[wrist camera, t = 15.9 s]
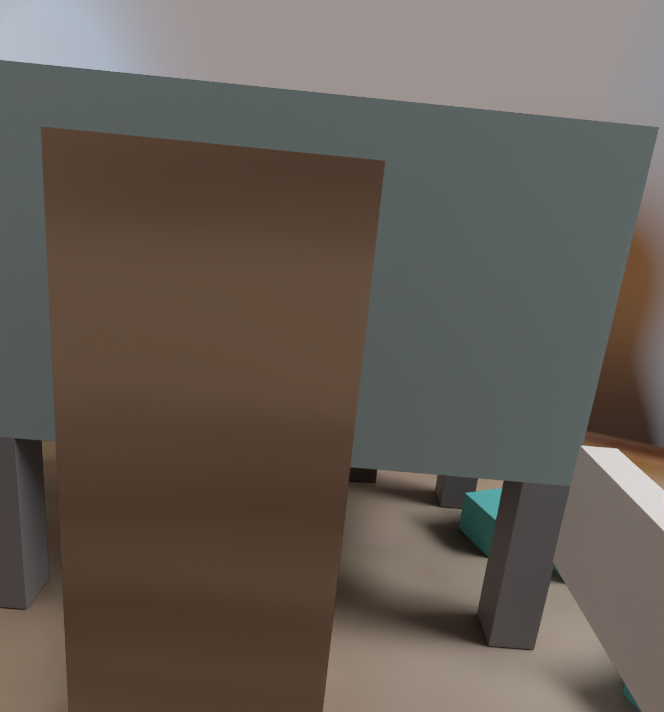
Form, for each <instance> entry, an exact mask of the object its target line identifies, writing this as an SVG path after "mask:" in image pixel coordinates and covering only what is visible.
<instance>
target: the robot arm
mask: <svg viewBox="0 0 664 712" xmlns="http://www.w3.org/2000/svg"><path fill="white" fill-rule="evenodd" d="M553 563H554V565H555V567H556V568H557V570H558V572H559V574H560V575H561V577H562V579H563V580H564V582H565V584H566V585H567V587H568V589H569V590H570V592H571V594H572V595H573V597H574V599H575V600H576V602H577V604H578V605H579V607H580V609H581V611H582V612H583V614H584V616H585V617H586V619H587V621H588V622H589V624H590V626H591V627H592V629H593V631H594V632H595V634H596V636H597V637H598V639H599V641H600V642H601V644H602V646H603V647H604V649H605V651H606V653H607V654H608V656H609V658H610V659H611V661H612V663H613V664H614V666H615V668H616V669H617V671H618V673H619V674H620V676H621V678H622V679H623V681H624V683H625V684H626V686H627V688H628V690H629V691H630V693H631V695H632V696H633V698H634V700H635V701H636V703H637V705H638V706H639V708H640V710H641V711H642V712H664V490H663V489H662V488H660V487H659V486H658V485H657V484H656V483H655V482H654V481H653V480H652V479H650V478H649V477H648V476H647V475H646V474H645V473H644V472H643V471H642V470H640V469H639V468H638V467H637V466H636V465H635V464H634V463H633V462H632V461H630V460H629V459H628V458H627V457H626V456H625V455H624V454H623V453H621V452H620V451H619V450H618V449H614V448H602V447H591V446H580V448H579V453H578V457H577V461H576V465H575V469H574V474H573V478H572V482H571V486H570V490H569V495H568V499H567V503H566V507H565V511H564V516H563V520H562V524H561V528H560V533H559V537H558V541H557V545H556V549H555V554H554V558H553Z"/></svg>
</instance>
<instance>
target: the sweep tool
mask: <svg viewBox="0 0 664 712" xmlns="http://www.w3.org/2000/svg"><path fill="white" fill-rule="evenodd" d="M41 144H42V165H43V186H44V207H45V228H46V249H47V270H48V291H49V312H50V333H51V354H52V374H53V395H54V416H55V437H56V458H57V479H58V500H59V521H60V542H61V563H62V583H63V604H64V625H65V646H66V667H67V688H68V709H69V712H323V703H324V694H325V685H326V677H327V668H328V659H329V650H330V642H331V633H332V624H333V615H334V607H335V598H336V589H337V580H338V572H339V563H340V554H341V545H342V536H343V528H344V519H345V510H346V501H347V493H348V484H349V481H361V482H372V483H375V482H376V475H377V469H366V468H354V467H350V466H351V458H352V449H353V440H354V431H355V423H356V414H357V405H358V396H359V387H360V379H361V370H362V361H363V352H364V344H365V335H366V326H367V317H368V309H369V300H370V291H371V282H372V274H373V265H374V256H375V247H376V238H377V230H378V221H379V212H380V203H381V195H382V186H383V177H384V168H385V161H383V160H373V159H363V158H353V157H343V156H333V155H323V154H313V153H303V152H293V151H283V150H273V149H263V148H253V147H243V146H233V145H223V144H213V143H203V142H193V141H183V140H173V139H162V138H152V137H142V136H132V135H122V134H112V133H102V132H92V131H82V130H72V129H62V128H52V127H42V126H41Z"/></svg>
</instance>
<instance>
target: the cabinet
mask: <svg viewBox="0 0 664 712" xmlns="http://www.w3.org/2000/svg"><path fill="white" fill-rule="evenodd" d="M41 126H42V127H52V128H62V129H72V130H82V131H92V132H102V133H112V134H122V135H132V136H142V137H152V138H162V139H173V140H183V141H193V142H203V143H213V144H223V145H233V146H243V147H253V148H263V149H273V150H283V151H293V152H303V153H313V154H323V155H333V156H343V157H353V158H363V159H373V160H383V161H385V168H384V177H383V186H382V195H381V203H380V212H379V221H378V230H377V238H376V247H375V256H374V265H373V274H372V282H371V291H370V300H369V309H368V317H367V326H366V335H365V344H364V352H363V361H362V370H361V379H360V387H359V396H358V405H357V414H356V423H355V431H354V440H353V449H352V458H351V466H350V467H354V468H366V469H378V470H389V471H401V472H412V473H424V474H435V475H438V476H437V482H436V489H435V491H436V494H437V497H438V500H439V503H440V506H442V507H454V508H463V502H464V497H465V493H468V492H475V491H476V486H477V480H478V478H481V479H493V480H504V482H503V487H502V492H501V497H500V502H499V507H498V512H497V517H496V522H495V527H494V532H493V537H492V542H491V547H490V552H489V557H488V562H487V567H486V572H485V577H484V582H483V587H482V592H481V597H480V602H479V607H478V612H477V614H478V616H479V619H480V622H481V625H482V628H483V631H484V634H485V637H486V640H487V643H488V646H496V647H508V648H521V649H533V650H534V647H535V643H536V638H537V634H538V630H539V626H540V622H541V618H542V613H543V609H544V605H545V601H546V597H547V593H548V588H549V584H550V580H551V576H552V572H553V568H554V563H553V558H554V554H555V549H556V545H557V541H558V537H559V533H560V528H561V524H562V520H563V516H564V511H565V507H566V503H567V499H568V495H569V490H570V486H571V482H572V478H573V474H574V469H575V465H576V461H577V457H578V453H579V448H580V446H583V442H584V438H585V434H586V430H587V425H588V421H589V417H590V413H591V409H592V404H593V400H594V396H595V392H596V388H597V384H598V380H599V375H600V371H601V367H602V363H603V359H604V355H605V350H606V346H607V342H608V338H609V334H610V329H611V325H612V321H613V317H614V312H615V309H616V304H617V300H618V296H619V291H620V288H621V283H622V279H623V275H624V271H625V267H626V262H627V258H628V254H629V250H630V246H631V242H632V238H633V233H634V229H635V225H636V221H637V217H638V213H639V208H640V204H641V200H642V195H643V192H644V187H645V183H646V179H647V175H648V171H649V167H650V162H651V158H652V154H653V150H654V146H655V141H656V137H657V133H658V129H659V127H650V126H640V125H629V124H620V123H611V122H599V121H591V120H581V119H571V118H562V117H552V116H542V115H532V114H522V113H513V112H503V111H493V110H483V109H473V108H464V107H453V106H444V105H434V104H425V103H415V102H404V101H395V100H385V99H376V98H365V97H356V96H346V95H336V94H326V93H316V92H307V91H297V90H287V89H277V88H268V87H258V86H247V85H238V84H229V83H218V82H209V81H199V80H190V79H180V78H170V77H160V76H150V75H141V74H131V73H121V72H111V71H101V70H91V69H82V68H72V67H62V66H53V65H42V64H32V63H23V62H12V61H3V60H0V607H6V608H18V609H27V608H28V606H29V605H30V604H31V602H32V601H33V599H34V598H35V597H36V595H37V594H38V593H39V591H40V590H41V589H42V587H43V586H44V585H45V583H46V582H47V581H48V579H49V565H48V547H47V529H46V511H45V493H44V475H43V457H42V440H43V441H54V442H56V437H55V416H54V395H53V374H52V354H51V333H50V312H49V291H48V270H47V249H46V228H45V207H44V186H43V165H42V144H41Z"/></svg>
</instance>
